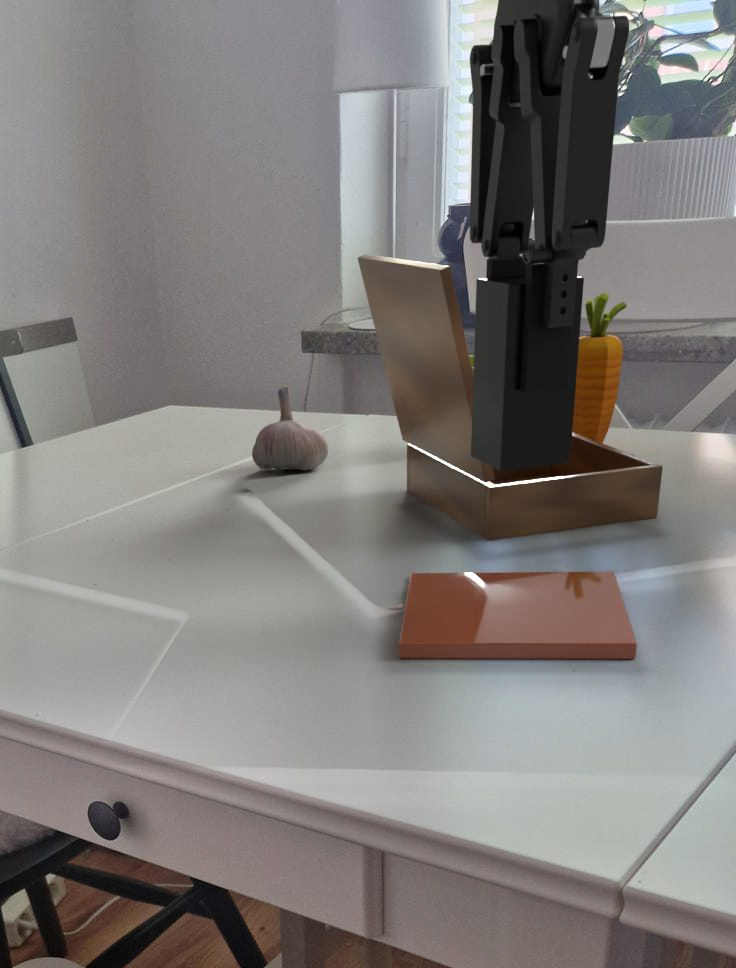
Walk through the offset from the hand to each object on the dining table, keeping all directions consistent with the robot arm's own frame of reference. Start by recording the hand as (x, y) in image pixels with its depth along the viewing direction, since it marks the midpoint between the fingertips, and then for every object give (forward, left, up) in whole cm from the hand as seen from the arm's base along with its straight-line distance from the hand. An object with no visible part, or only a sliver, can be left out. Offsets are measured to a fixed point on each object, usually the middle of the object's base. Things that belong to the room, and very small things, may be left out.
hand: (524, 381), depth 69 cm
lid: (+6, -24, -2) cm, 25 cm away
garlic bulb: (+21, -45, -15) cm, 52 cm away
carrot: (-8, -44, -15) cm, 47 cm away
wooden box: (-2, -27, -15) cm, 31 cm away
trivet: (0, 0, -15) cm, 15 cm away
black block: (0, 0, -4) cm, 4 cm away
